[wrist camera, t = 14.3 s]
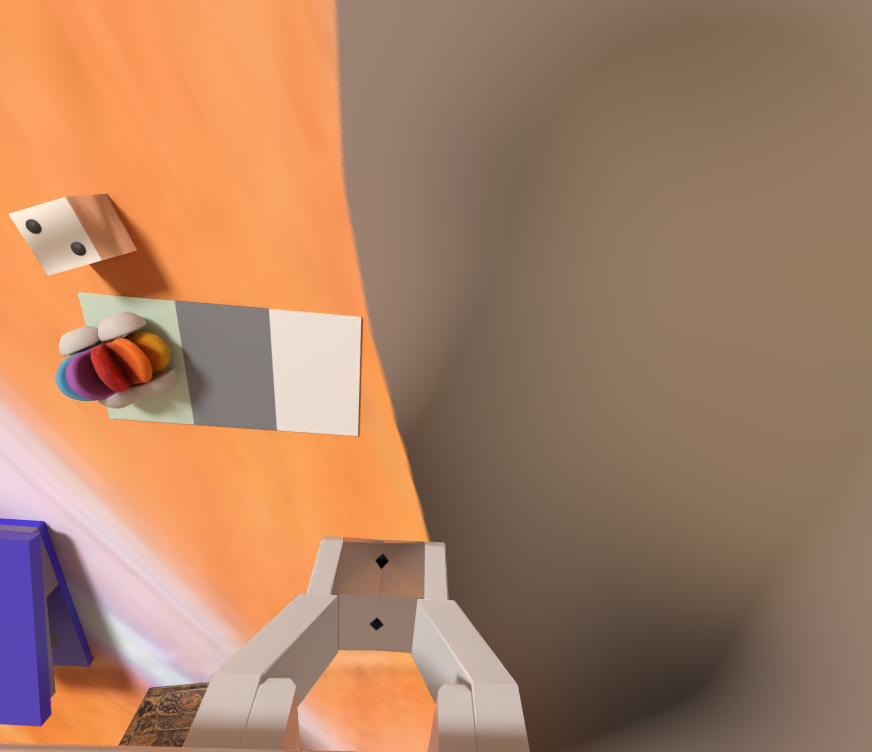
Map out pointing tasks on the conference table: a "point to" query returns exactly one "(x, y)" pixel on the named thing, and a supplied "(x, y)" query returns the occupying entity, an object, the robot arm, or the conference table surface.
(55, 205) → the die
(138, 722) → the book
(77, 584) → the conference table surface
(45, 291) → the conference table surface
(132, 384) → the rainbow segmented toy
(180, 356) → the game mat
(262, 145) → the conference table surface
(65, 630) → the stapler
